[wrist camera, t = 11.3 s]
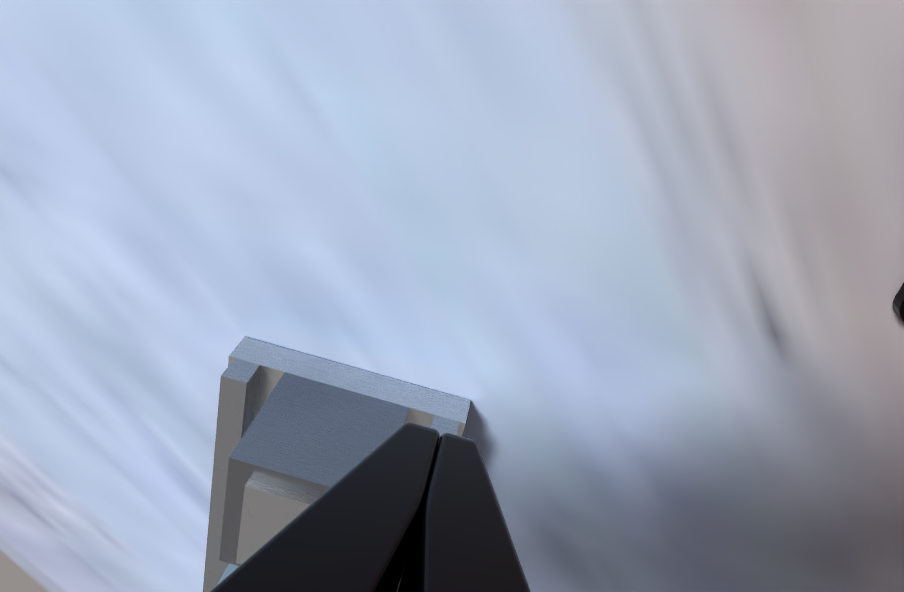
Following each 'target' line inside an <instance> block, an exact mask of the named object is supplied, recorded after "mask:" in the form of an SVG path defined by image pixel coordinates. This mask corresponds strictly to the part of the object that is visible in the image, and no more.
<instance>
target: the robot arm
mask: <svg viewBox="0 0 904 592" xmlns="http://www.w3.org/2000/svg"><path fill="white" fill-rule="evenodd" d="M893 306H894V310H895V311H896V312H897V314H898V315H899V316H900V317H901V318H902V320H903V321H904V283H903V285H902V287H901V288H900V290H899V291H898V293H897V295H896V296H895V299H894V301H893ZM439 438H440V439H439ZM438 442H439V443H438ZM399 583H400V584H399ZM397 590H398V591H397ZM210 592H530V589H529V586H528V583H527V581H526V578H525V575H524V572H523V569H522V567H521V564H520V561H519V558H518V556H517V553H516V550H515V547H514V544H513V542H512V539H511V536H510V533H509V531H508V528H507V525H506V522H505V519H504V517H503V514H502V511H501V508H500V506H499V503H498V500H497V497H496V494H495V492H494V489H493V486H492V483H491V481H490V478H489V475H488V472H487V469H486V467H485V464H484V461H483V458H482V456H481V453H480V450H479V447H478V445H477V443H476V442H475V441H474V440H472V439H469V438H465V437H462V436H458V435H455V434H451V433H447V432H446V433H443V434H442V435H441V437H440V434H439V431H438V430H436V429H434V428H430V427H427V426H423V425H420V424H416V423H413V422H407V423H405V424H404V425H402V426H401V427H400V428H399V429H398V430H396V431H395V432H394V433H393V434H392V435H391V436H389V437H388V438H387V439H386V440H385V441H384V442H382V443H381V444H380V445H379V446H378V447H377V448H376V449H374V450H373V451H372V452H371V453H370V454H369V455H367V456H366V457H365V458H364V459H363V460H362V461H360V462H359V463H358V464H357V465H356V466H355V467H353V468H352V469H351V470H350V471H349V472H348V473H347V474H345V475H344V476H343V477H342V478H341V479H340V480H338V481H337V482H336V483H335V484H334V485H333V486H331V487H330V488H329V489H328V490H327V491H326V492H324V493H323V494H322V495H321V496H320V497H319V498H318V499H316V500H315V501H314V502H313V503H312V504H311V505H309V506H308V507H307V508H306V509H305V510H304V511H302V512H301V513H300V514H299V515H298V516H297V517H295V518H294V519H293V520H292V521H291V522H290V523H289V524H287V525H286V526H285V527H284V528H283V529H282V530H280V531H279V532H278V533H277V534H276V535H275V536H273V537H272V538H271V539H270V540H269V541H268V542H266V543H265V544H264V545H263V546H262V547H261V548H260V549H258V550H257V551H256V552H255V553H254V554H253V555H251V556H250V557H249V558H248V559H247V560H246V561H244V562H243V563H242V564H241V565H240V566H239V567H237V568H236V569H235V570H234V571H233V572H232V573H231V574H229V575H228V576H227V577H226V578H225V579H224V580H222V581H221V582H220V583H219V584H218V585H217V586H215V587H214V588H213V589H212V590H211V591H210Z"/></svg>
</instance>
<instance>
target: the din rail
mask: <svg viewBox="0 0 904 592" xmlns="http://www.w3.org/2000/svg"><path fill="white" fill-rule="evenodd" d="M470 402H471V400H467V399H464V398H460V397H457V396H453V395H449V394H446V393H442V392H439V391H435V390H432V389H428V388H425V387H421V386H418V385H414V384H411V383H407V382H404V381H400V380H397V379H393V378H390V377H386V376H383V375H379V374H376V373H372V372H369V371H365V370H362V369H358V368H355V367H351V366H348V365H344V364H340V363H337V362H333V361H330V360H326V359H323V358H319V357H316V356H312V355H309V354H305V353H302V352H298V351H295V350H291V349H288V348H284V347H281V346H277V345H274V344H270V343H267V342H263V341H260V340H256V339H253V338H249V337H246V336H245V337H244V338H243V339H242V341H241V342H240V343H239V344H238V346H237V347H236V348H235V349H234V351H233V352H232V353H231V354H230V356H229V363H228V368H227V369H226V370H225V371H224V373H223V374H222V375H221V382H220V394H219V406H218V418H217V430H216V442H215V454H214V466H213V478H212V490H211V502H210V514H209V526H208V537H207V549H206V561H205V573H204V585H203V592H210V591H211V590H212V589H213V588H214V587H215V586H217V584H218V582H219V581H220V579H221V577H222V575H223V573H224V571H225V570H226V568H227V566H228V564H229V563H230V564H233V565H236V566H240V565H241V564H242V563H243V562H244V561H246V560H247V559H248V558H249V557H250V556H251V555H253V554H254V553H255V552H256V551H257V550H258V549H260V548H261V547H262V546H263V545H264V544H265V543H266V542H268V541H269V540H270V539H271V538H272V537H273V536H275V535H276V534H277V533H278V532H279V531H280V530H282V529H283V528H284V527H285V526H286V525H287V524H289V523H290V522H291V521H292V520H293V519H294V518H295V517H297V516H298V515H299V514H300V513H301V512H302V511H304V510H305V509H306V508H307V507H308V506H309V505H311V504H312V503H313V502H314V501H315V500H316V499H318V498H319V497H320V496H321V495H322V494H323V493H324V492H326V491H327V490H328V489H329V488H330V487H331V486H333V485H334V484H335V483H336V482H337V481H338V480H340V479H341V478H342V477H343V476H344V475H345V474H347V473H348V472H349V471H350V470H351V469H352V468H353V467H355V466H356V465H357V464H358V463H359V462H360V461H362V460H363V459H364V458H365V457H366V456H367V455H369V454H370V453H371V452H372V451H373V450H374V449H376V448H377V447H378V446H379V445H380V444H381V443H382V442H384V441H385V440H386V439H387V438H388V437H389V436H391V435H392V434H393V433H394V432H395V431H396V430H398V429H399V428H400V427H401V426H402V425H404V424H405V423H407V422H413V423H416V424H420V425H423V426H427V427H430V428H434V429H436V430H438V431H439V434H440V437H441V435H442V434H443V433H446V432H447V433H451V434H455V435H458V436H462V434H463V431H464V428H465V424H466V420H467V415H468V411H469V406H470ZM439 439H440V438H439ZM438 443H439V442H438ZM399 584H400V583H399ZM397 591H398V590H397Z"/></svg>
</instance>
